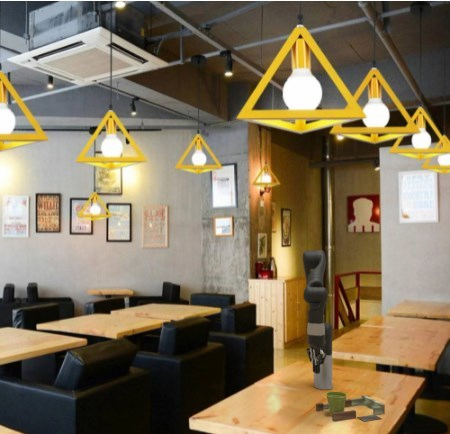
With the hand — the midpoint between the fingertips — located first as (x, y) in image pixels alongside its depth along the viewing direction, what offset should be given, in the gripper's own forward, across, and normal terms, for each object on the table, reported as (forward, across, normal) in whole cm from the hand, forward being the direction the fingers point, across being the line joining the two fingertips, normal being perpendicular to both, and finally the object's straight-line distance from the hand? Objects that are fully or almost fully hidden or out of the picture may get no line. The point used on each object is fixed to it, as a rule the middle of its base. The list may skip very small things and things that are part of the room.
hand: (316, 372), depth 227 cm
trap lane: (+19, 0, +17) cm, 26 cm away
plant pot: (+19, 0, +10) cm, 22 cm away
